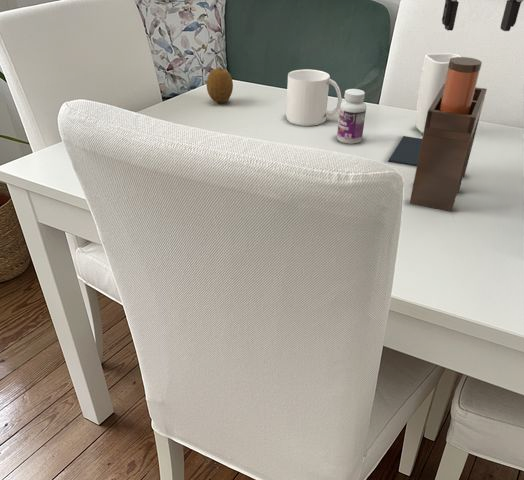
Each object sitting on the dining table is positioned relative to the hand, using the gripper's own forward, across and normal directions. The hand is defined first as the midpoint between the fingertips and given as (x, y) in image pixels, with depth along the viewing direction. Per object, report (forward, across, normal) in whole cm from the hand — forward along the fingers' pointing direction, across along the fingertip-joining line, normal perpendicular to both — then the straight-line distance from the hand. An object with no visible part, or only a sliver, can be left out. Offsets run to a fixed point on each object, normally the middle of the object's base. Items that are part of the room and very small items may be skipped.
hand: (476, 29), depth 85 cm
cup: (+26, +6, +30) cm, 40 cm away
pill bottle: (+26, -12, +25) cm, 38 cm away
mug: (+26, -19, +37) cm, 49 cm away
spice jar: (+13, -2, -2) cm, 13 cm away
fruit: (+26, -40, +48) cm, 68 cm away
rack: (+26, 0, +1) cm, 26 cm away
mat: (+26, 0, +18) cm, 31 cm away
